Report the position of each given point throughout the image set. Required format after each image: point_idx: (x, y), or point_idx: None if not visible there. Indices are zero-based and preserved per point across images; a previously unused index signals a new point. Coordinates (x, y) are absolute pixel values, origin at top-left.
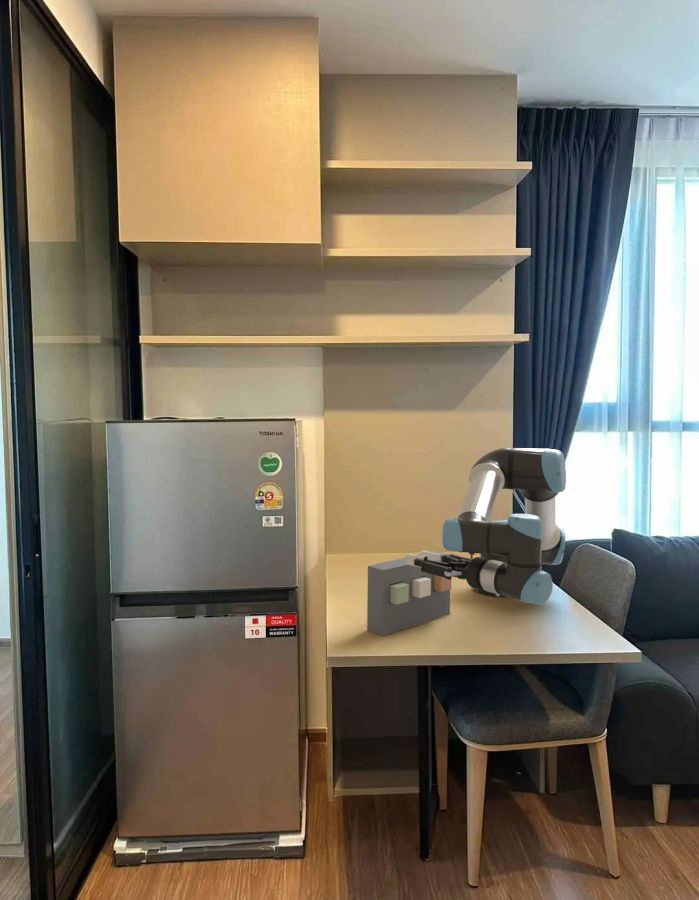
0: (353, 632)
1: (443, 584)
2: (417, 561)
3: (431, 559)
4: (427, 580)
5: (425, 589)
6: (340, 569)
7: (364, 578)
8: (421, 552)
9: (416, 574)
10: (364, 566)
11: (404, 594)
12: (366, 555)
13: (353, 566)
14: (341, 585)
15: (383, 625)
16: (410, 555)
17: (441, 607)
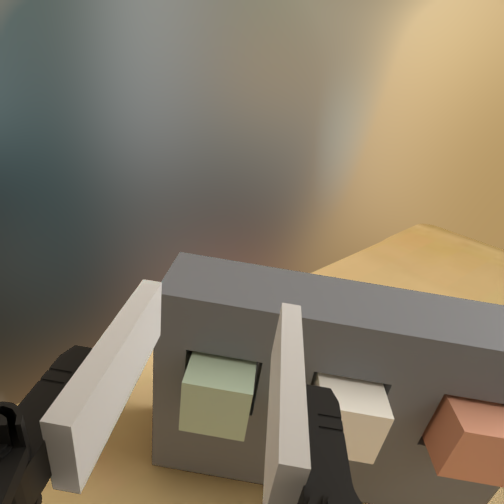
0: (139, 391)
1: (465, 460)
2: (44, 382)
3: (270, 406)
4: (371, 417)
5: (349, 440)
6: (391, 246)
7: (403, 275)
8: (281, 312)
9: (342, 366)
10: (437, 257)
11: (223, 415)
12: (467, 244)
13: (419, 250)
14: (345, 269)
15: (155, 444)
16: (131, 300)
17: (440, 494)
